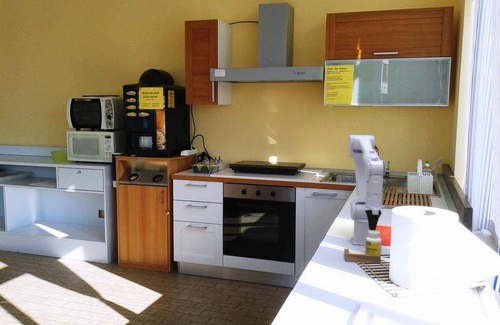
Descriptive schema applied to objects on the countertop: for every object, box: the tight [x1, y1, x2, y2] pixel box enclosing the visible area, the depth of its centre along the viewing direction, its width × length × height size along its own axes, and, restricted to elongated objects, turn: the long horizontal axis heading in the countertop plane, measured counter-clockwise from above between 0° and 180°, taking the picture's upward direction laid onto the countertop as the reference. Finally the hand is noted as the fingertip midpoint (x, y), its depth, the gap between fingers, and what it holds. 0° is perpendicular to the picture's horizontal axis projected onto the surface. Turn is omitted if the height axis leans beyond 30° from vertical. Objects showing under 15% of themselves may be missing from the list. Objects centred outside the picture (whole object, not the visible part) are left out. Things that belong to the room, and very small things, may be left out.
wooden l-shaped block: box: [343, 248, 382, 264], centre depth 172 cm, size 8×12×2 cm, turn 82°
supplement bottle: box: [364, 230, 382, 256], centre depth 173 cm, size 5×5×10 cm
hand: (372, 230), depth 177 cm, fingers closed
